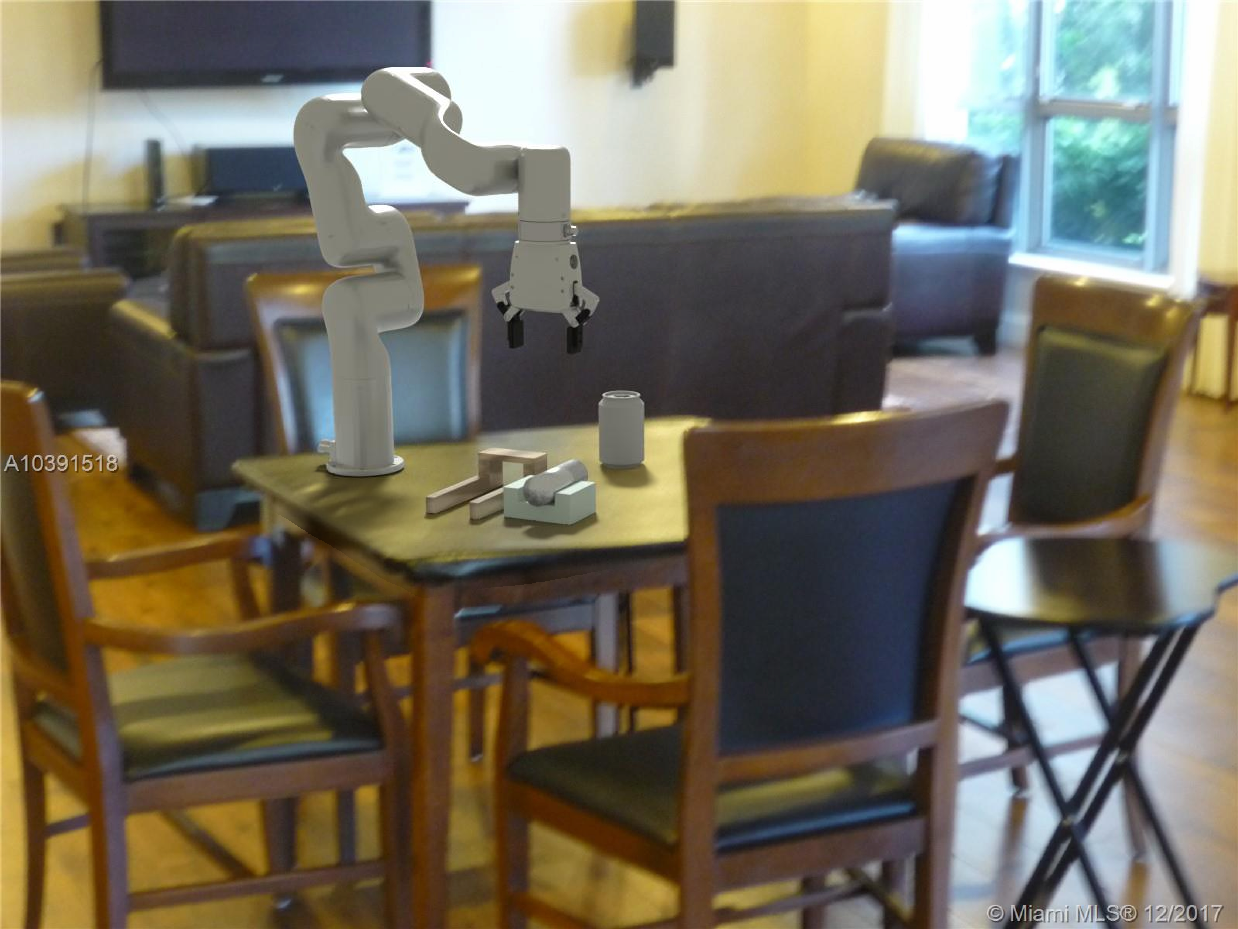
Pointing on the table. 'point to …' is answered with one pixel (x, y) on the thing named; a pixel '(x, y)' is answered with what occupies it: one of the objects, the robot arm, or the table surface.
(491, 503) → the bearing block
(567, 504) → the v block
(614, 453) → the can
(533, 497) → the axle
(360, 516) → the table surface
